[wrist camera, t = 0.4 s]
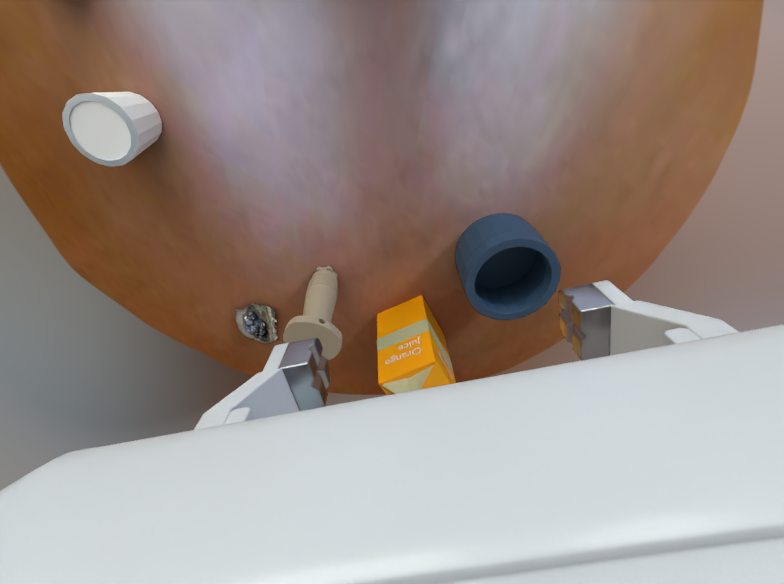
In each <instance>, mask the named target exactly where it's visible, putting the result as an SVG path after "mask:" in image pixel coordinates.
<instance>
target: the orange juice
mask: <svg viewBox="0 0 784 584" xmlns="http://www.w3.org/2000/svg"><path fill="white" fill-rule="evenodd" d="M377 351H378V384H379V385H380V387H381V388H382V389H383V391H384V392H385V394H386V395H392V394H398V393H404V392H409V391H415V390H420V389H426V388H432V387H437V386H443V385H448V384H454V383H456V381H455V377H454V372H453V368H452V364H451V361H450V357H449V353H448V349H447V344H446V340H445V336H444V334H443V332H442V330H441V329H440V327H439V325H438V323H437V321H436V319H435V318H434V316H433V314H432V312H431V310H430V309H429V307H428V305H427V303H426V301H425V299H424V298H423V296H422V295H420V296H418V297H416V298H413V299H411V300H409V301H406V302H404V303H402V304H400V305H397V306H395V307H393V308H390V309H388V310H386V311H383V312H381V313H379V314H377Z"/></svg>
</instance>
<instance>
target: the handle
mask: <svg viewBox="0 0 784 584" xmlns="http://www.w3.org/2000/svg"><path fill="white" fill-rule="evenodd" d="M337 294H338V284H337V274H336V273H335V272H334V271H333V269H332V267H331V266H327V267H321V266H319V267H318V268H317V269H316V272H315V273H314V275H313V276H312V278H311V280H310V282H309V285H308V288H307V291H306V297H305V305H304V312H303V316H296V317H294V318H293V319H291V320H290V321H289V323H288V324H287V326H286V328H285V331H284V335H283V341H284V343H291V342H296V341H301V340H307V339H313V338H318V339H319V340H320V341H321V344H322V346H323V351H322V356H324V357H325V358H327V360H330V359H332V358H334V357H335V356H336V355H337V354H338V353H339V351H340V349H341V346H342V334H341V332H340V331H339V330H338V329H337V328H336V327H335V326H334V325H333V324H332V323H331V321H332V316H333V312H334V308H335V304H336V300H337Z"/></svg>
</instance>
